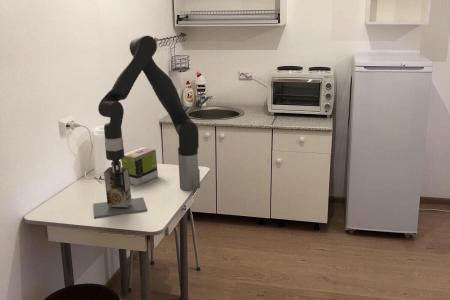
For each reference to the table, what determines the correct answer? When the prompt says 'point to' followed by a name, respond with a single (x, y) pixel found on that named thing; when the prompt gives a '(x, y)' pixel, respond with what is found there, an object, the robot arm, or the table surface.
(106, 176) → the coffee box
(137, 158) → the tea box
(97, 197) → the table surface
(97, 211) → the mat
